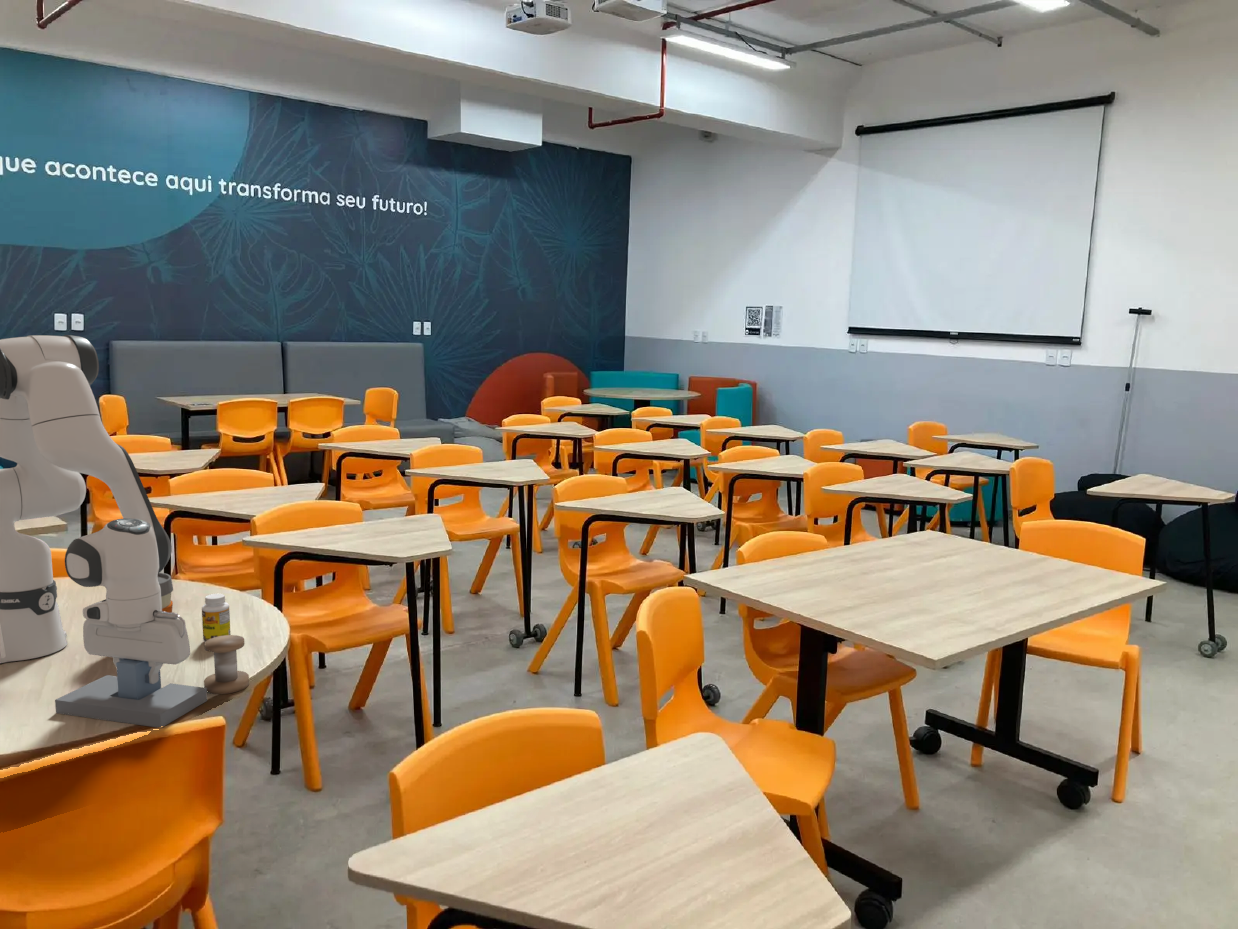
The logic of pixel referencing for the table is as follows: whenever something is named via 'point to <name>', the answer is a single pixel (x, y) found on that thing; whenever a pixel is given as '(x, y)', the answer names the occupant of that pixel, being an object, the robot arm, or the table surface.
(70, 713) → the notched board
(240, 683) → the bobbin post
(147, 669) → the blue-gray rectangular block
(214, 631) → the supplement bottle
